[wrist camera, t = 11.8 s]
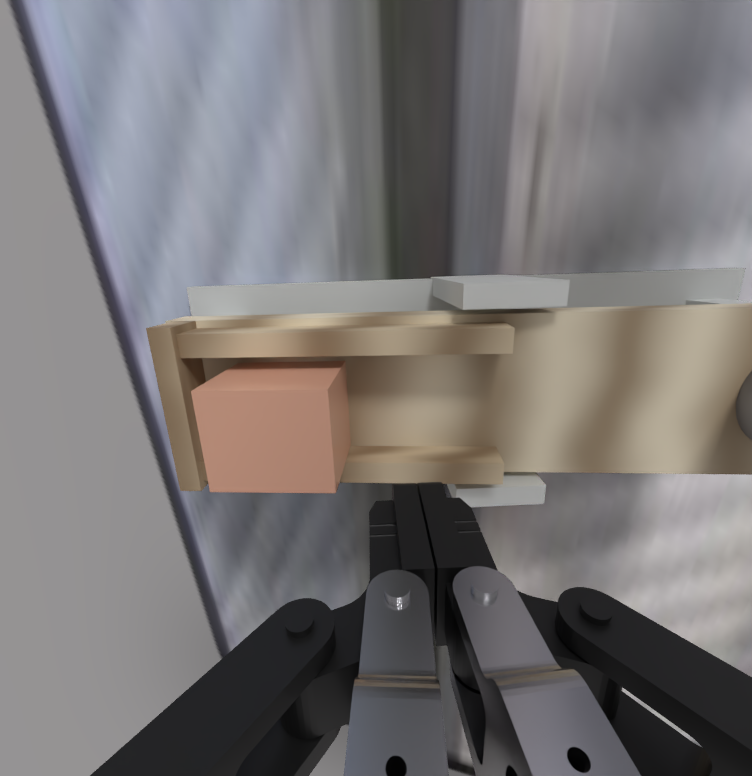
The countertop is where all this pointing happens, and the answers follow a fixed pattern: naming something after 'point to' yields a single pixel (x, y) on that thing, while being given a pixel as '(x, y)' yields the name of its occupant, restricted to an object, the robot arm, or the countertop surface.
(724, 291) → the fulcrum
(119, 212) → the countertop surface
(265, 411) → the rider
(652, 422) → the beam
